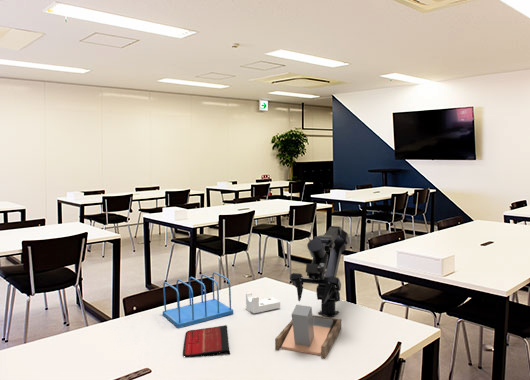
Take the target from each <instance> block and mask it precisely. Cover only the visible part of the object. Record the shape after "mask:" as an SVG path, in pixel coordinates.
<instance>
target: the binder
mask: <svg viewBox="0 0 530 380" xmlns="http://www.w3.org/2000/svg"><path fill="white" fill-rule="evenodd" d="M228 332H229V331H228V325H227V324H225V325H224V324H223V325H220V326H213V327H204V328H198V329H191V330H187V331H186V332H185V335H184V342H183V349H182V356H183V357H184V356H185V357H184V358H195V357H197V358H199V357H215V356H220V354H222V353H225V352H227V354H228V355H231V353H230V352H231V351H230V345H229V344H230V343H229V335H228Z"/></svg>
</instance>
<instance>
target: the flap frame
mask: <svg viewBox="0 0 530 380" xmlns="http://www.w3.org/2000/svg"><path fill="white" fill-rule="evenodd" d="M312 317H318V318H325V319H332V320H333V325H334V327H333V328H332V330H331V332H330V333H329V335H328V336H327V338H326V340H325V341H324V343H323V344H322V346H321V356H320V357H321V359H326V357H327V355H328V353H329V352H330V350H331V349H332V347H333V345H334V343H335V341H336V340H337V338H338V336H339V334H340V333H341V331H342V319H341V318H334V317H329V316H319V315H314V314H312ZM292 325H293V322H292V319H291V320H290V321H289V322H288V323H287V325H286V326H285V327H284V328H283V329H282V331H281V332H280V333H279V334H278V335H277V336H276V337H275V340H274V342H275V343H274V345H275V346H274V349H275V351H280V350H281V349H282V344H283V343H284V341H285V339H286V337H287V335H288V333H289V331H290V329H291V327H292Z"/></svg>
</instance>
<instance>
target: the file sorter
mask: <svg viewBox="0 0 530 380" xmlns="http://www.w3.org/2000/svg"><path fill="white" fill-rule="evenodd" d="M214 275H217V276H219V277H221V278H223V279H225V280H227V282H228V297H229V298H228V299H229V300H228V301H229V302H228V303H229V306H227V305H226V304H225V303H222V302H221V301H220V296H219V295H220V294H219V293H220V292H219V291H220V290H219V285H218V281H217V280H216V279H215V278H214ZM203 277H205V278H206V279H209V280H211V281H212V299H209V300H207V290H206V285H205V283H203ZM191 280H194V281H195V282H198V283H199V284H200V293H201V295H200V296H201V298H200V299H201V302H196V303H194V291H193V288H192V286H191ZM179 282H180V283H182V284H184V286H187V287H188V297H189V298H188V299H189V304H187V305H182V306H181V305H180V304H181V303H180V293H179ZM175 283H176V285H175V286H176V287H175V286H173V285H172V284H170V283H168V282H167V281H164V282H163V285H162V287H163V305H164V306H163V307H164V310H163V311H162V316H163V317H165V318H166V317H167V318H168V319H169V320H170V321H169V322H170V323H172V324H173V325H174V326H175V327H176V328H178V329H179V328H184V327H188V326H192V325H195V324H199V323H202V322H206V321H210V320H213V319H218V318H220V317H225V316H229V315H233V314H234V309H233V308H232V293H231V281H230V280H229V278H228V277H226V276H224V275H223V274H221V273H218V272H216V271H213V273H212V275H211V277H210V276H208V275H206V274H201V276H200V280H199V279H197V278H195V277H193V276H190V277H188V283H187V282H185V281H183V280H181V279H177V280H176V282H175ZM215 284H216V285H215ZM166 285H167V286H169V287H170V288H172V289H173V290H174V291H176V303H177V305H176V306H177V307H174V308H170V309H167V303H166V301H167V300H166ZM215 286H216V296H217V297H215ZM203 294H204V295H203ZM215 298H216V299H215ZM167 318H166V319H167ZM168 319H167V320H168Z"/></svg>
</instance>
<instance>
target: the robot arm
mask: <svg viewBox="0 0 530 380" xmlns="http://www.w3.org/2000/svg"><path fill="white" fill-rule="evenodd" d="M349 243H350V237H349V234H348V232H347V231H345V230H344V229H342V227H341V226H338V225H337V226H336V225H331V226H329V228H328V230H326V231H325V233H324V234H322V235H317V236H314V237H313V238H312V239H310V240H309V241H308V242H307V249H308V252H309V254H310V256H311V258H312V260H311V262H310V263H306V264H305V265H306V266H305V273H306V276H307V277H306V276H303V274H302V273H298V272H292V273H291V274H290V276H289V280H290V281H291V282H290V283H291V284H292V285H293V286H294V287H295V288H296V290H297V293H296V294H297V301H298V302H301V299H302V295H303V291H304V286H303V285H304V284H313V285H317V286H316V297H317V298H316V299H317V300H319V301H320V300H321V303H320V304H321V306H320V307H321V309H320V311H318V315H322V316H324V317H328V318H334V316H335V315H337V314H339V313H340V312H339V311H338V310H336V303H337V302H340V301H341V296H340V295H341V292H340V291H341V289H342V283H341V280H340V278H339V276H337V275H338V270H339V265H340V260H341V255H342V253H343V252H344V251H346V249H347V246H348V245H349ZM327 252H330V254H328V253H327Z"/></svg>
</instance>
